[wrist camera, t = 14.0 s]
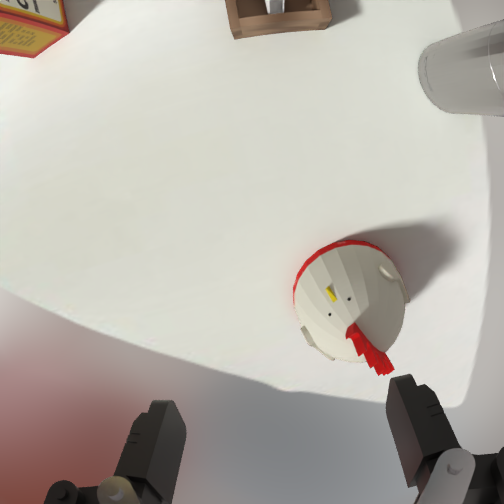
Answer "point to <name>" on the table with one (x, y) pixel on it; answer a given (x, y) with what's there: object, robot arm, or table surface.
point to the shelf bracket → (275, 6)
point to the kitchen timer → (351, 303)
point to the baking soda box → (31, 26)
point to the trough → (276, 17)
